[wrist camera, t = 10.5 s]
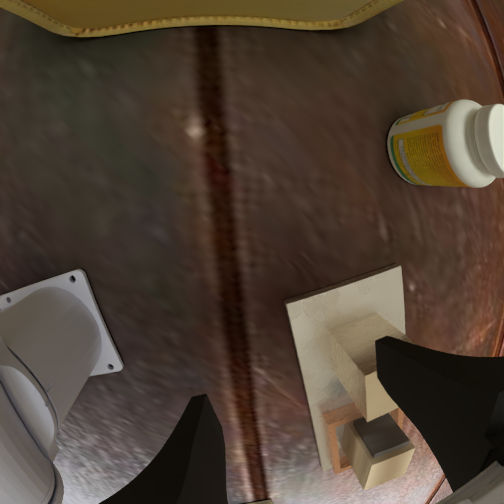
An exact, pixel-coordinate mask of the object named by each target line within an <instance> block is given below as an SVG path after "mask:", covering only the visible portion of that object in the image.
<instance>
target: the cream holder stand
mask: <svg viewBox="0 0 504 504" xmlns="http://www.w3.org/2000/svg"><path fill="white" fill-rule="evenodd" d="M284 304H285V308H286V312H287V316H288V320H289V325H290V329H291V333H292V337H293V342H294V346H295V350H296V355H297V359H298V363H299V368H300V372H301V377H302V381H303V385H304V390H305V394H306V399H307V403H308V408H309V412H310V417H311V422H312V426H313V431H314V435H315V440H316V445H317V450H318V454H319V459H320V464H321V467H322V470H323V471H325V470H328V469H331V468H333V470H334V473H335V474H337V473H340V472H342V471H345V470H348V469H350V468H352V466H351V465H350V463H349V461H348V459H347V457H346V455H345V453H344V451H343V449H342V447H341V446H342V439H343V432H344V424H345V423H348V422H350V421H353V420H355V419H357V418H360V417H362V416H364V418H365V419H366V421H367V422H369V421H371V420H373V419H375V418H378V417H380V416H382V415H384V414H386V413H389V414H390V415H391V416H392V418H393V419H394V420H395V422H396V423H397V424H398V425H399V427H400V428H401V429H402V426H403V415H404V412H403V411H402V410H401V409H400V408H399V407H398V406H397V404H396V403H395V402H394V401H393V400H392V399H391V397H390V396H389V395H388V394H387V392H386V391H385V389H384V388H383V386H382V385H381V383H380V381H379V380H378V378H377V366H376V350H375V340H378V339H380V338H382V337H385V336H391V337H394V338H397V339H400V340H403V341H406V342H409V343H412V344H415V345H417V344H416V343H415V342H414V341H412V340H411V339H410V338H408V337H407V336H406V335H405V313H404V296H403V283H402V271H401V266H400V265H398V264H396V263H395V264H392V265H389V266H387V267H384V268H381V269H378V270H375V271H372V272H370V273H367V274H364V275H361V276H358V277H355V278H352V279H349V280H346V281H343V282H340V283H337V284H334V285H331V286H328V287H325V288H322V289H319V290H315V291H312V292H309V293H306V294H303V295H299V296H296V297H293V298H290V299H286V300H284Z"/></svg>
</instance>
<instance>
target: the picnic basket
mask: <svg viewBox="0 0 504 504" xmlns="http://www.w3.org/2000/svg"><path fill="white" fill-rule="evenodd" d="M402 1H404V0H0V7H1V8H3V9H6V10H8V11H10V12H12V13H14V14H16V15H19V16H21V17H23V18H25V19H27V20H29V21H31V22H33V23H35V24H37V25H39V26H41V27H43V28H45V29H47V30H49V31H50V32H53V33H56V34H60V35H63V36H72V37H100V36H108V35H115V34H122V33H128V32H135V31H142V30H149V29H158V28H167V27H180V26H197V25H248V26H266V27H278V28H288V29H302V30H333V29H340V28H348V27H351V26H354V25H357V24H360V23H363V22H364V21H366V20H368V19H370V18H371V17H373V16H375V15H377V14H379V13H380V12H382V11H384V10H386V9H388V8H390V7H392V6H394V5H396V4H398V3H400V2H402Z"/></svg>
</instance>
